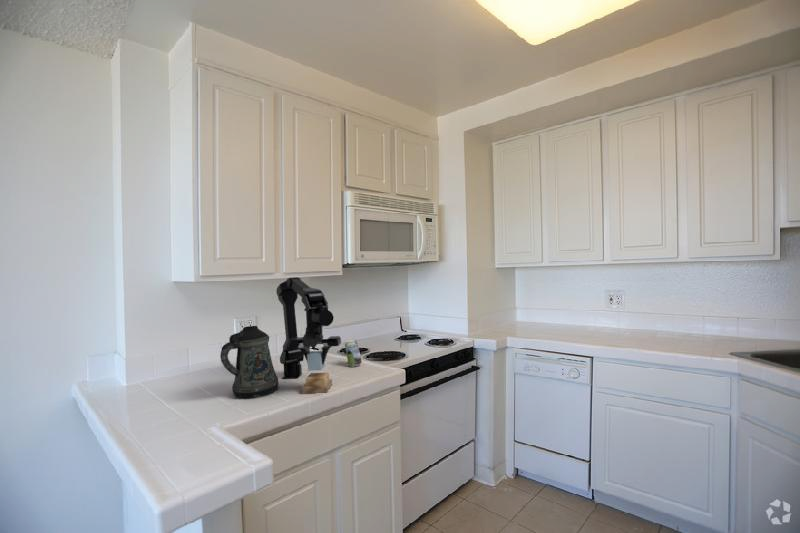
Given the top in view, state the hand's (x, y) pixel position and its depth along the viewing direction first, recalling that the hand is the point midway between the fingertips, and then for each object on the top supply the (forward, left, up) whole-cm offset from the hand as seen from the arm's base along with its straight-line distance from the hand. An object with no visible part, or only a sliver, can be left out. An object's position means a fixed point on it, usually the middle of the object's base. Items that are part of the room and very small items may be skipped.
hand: (316, 364), depth 144 cm
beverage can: (+8, +32, -10) cm, 34 cm away
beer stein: (-24, -2, -10) cm, 26 cm away
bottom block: (0, 0, -10) cm, 10 cm away
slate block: (0, 0, -2) cm, 2 cm away
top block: (0, 0, -7) cm, 7 cm away
